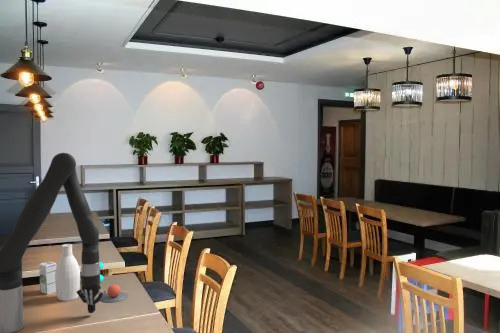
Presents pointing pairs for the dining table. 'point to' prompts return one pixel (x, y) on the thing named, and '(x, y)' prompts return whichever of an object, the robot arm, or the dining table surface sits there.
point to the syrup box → (47, 277)
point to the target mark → (114, 298)
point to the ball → (113, 290)
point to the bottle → (67, 275)
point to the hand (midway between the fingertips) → (91, 312)
